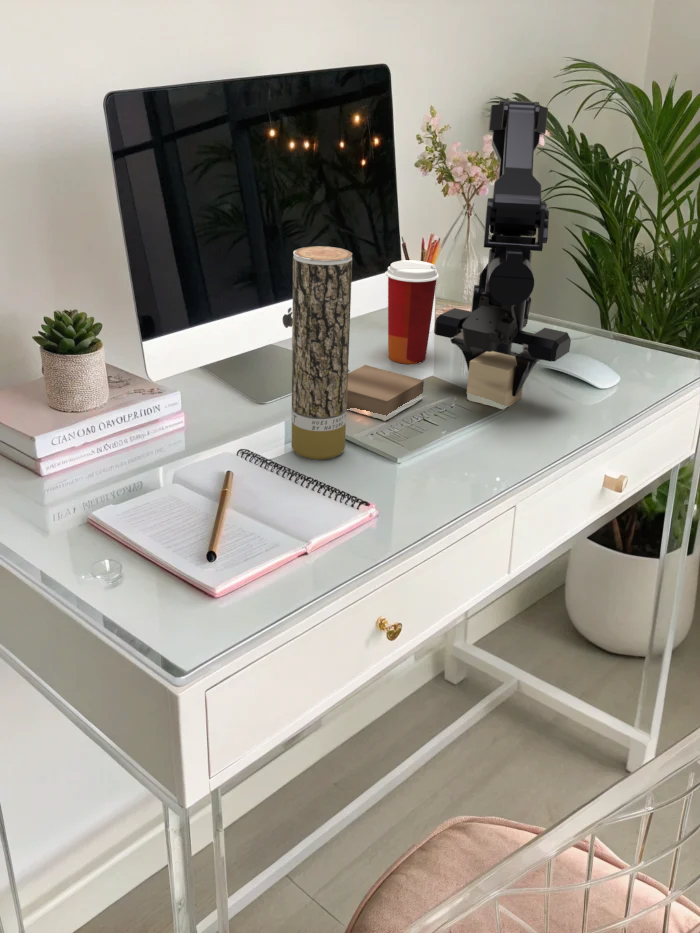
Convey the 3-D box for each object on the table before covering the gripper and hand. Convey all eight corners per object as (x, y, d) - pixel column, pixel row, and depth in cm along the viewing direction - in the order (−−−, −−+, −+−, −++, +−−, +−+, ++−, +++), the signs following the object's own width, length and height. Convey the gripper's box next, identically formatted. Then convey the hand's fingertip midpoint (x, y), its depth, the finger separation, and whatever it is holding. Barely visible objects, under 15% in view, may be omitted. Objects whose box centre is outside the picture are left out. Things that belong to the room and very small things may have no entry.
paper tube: (352, 444, 118) (360, 250, 107) (334, 466, 112) (340, 263, 101) (303, 435, 120) (306, 243, 109) (282, 456, 114) (283, 256, 103)
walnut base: (364, 383, 137) (365, 364, 136) (422, 399, 133) (423, 380, 131) (325, 403, 130) (326, 384, 129) (385, 421, 125) (387, 401, 124)
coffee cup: (432, 351, 152) (440, 261, 145) (431, 368, 145) (439, 274, 138) (382, 347, 152) (387, 257, 146) (378, 364, 145) (383, 270, 138)
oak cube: (484, 388, 138) (488, 350, 135) (521, 397, 135) (526, 359, 132) (465, 400, 133) (469, 361, 131) (503, 410, 130) (508, 370, 128)
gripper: (418, 284, 125) (411, 391, 132) (547, 311, 116) (531, 424, 123) (457, 268, 133) (448, 370, 140) (579, 292, 124) (563, 399, 131)
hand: (494, 390), depth 133 cm, fingers closed on oak cube, 6 cm apart
